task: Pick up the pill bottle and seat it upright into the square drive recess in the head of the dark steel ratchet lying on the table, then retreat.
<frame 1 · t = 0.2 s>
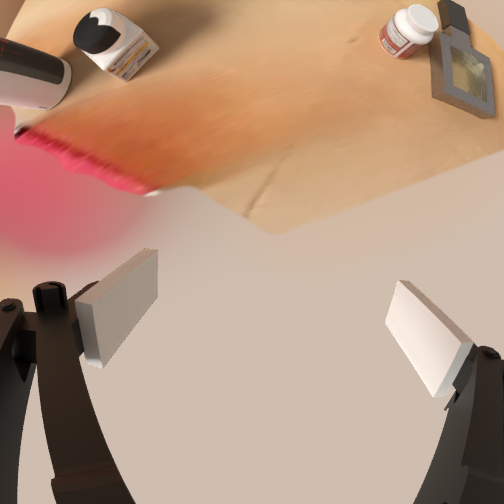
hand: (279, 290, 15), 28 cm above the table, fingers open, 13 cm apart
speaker: (52, 85, 36), on the table
container: (130, 54, 35), on the table
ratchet: (457, 78, 33), on the table
pill bottle: (393, 44, 33), on the table
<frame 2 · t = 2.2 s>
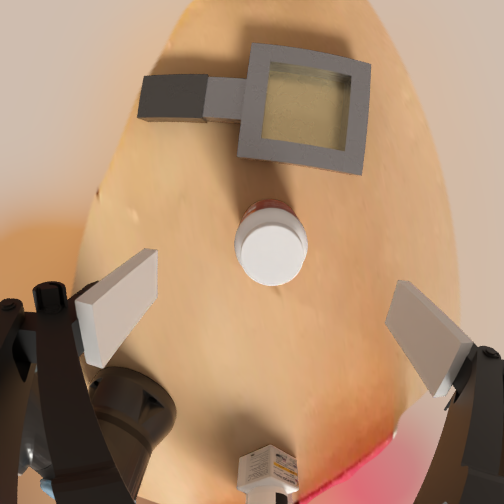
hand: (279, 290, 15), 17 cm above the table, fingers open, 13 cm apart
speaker: (269, 492, 48), on the table
container: (268, 457, 43), on the table
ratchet: (302, 112, 28), on the table
pill bottle: (269, 226, 32), on the table
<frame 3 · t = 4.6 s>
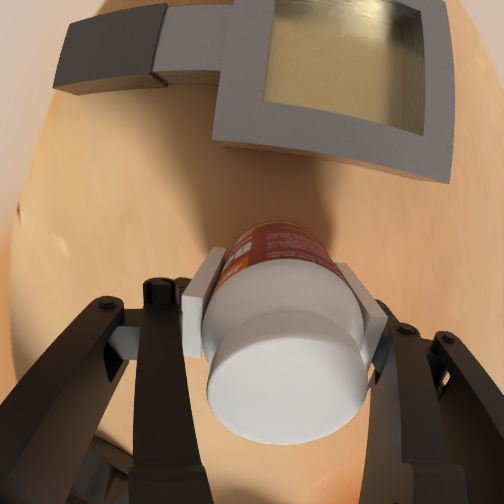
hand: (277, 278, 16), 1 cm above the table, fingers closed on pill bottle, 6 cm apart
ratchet: (336, 67, 14), on the table
pill bottle: (277, 268, 18), on the table, touching gripper
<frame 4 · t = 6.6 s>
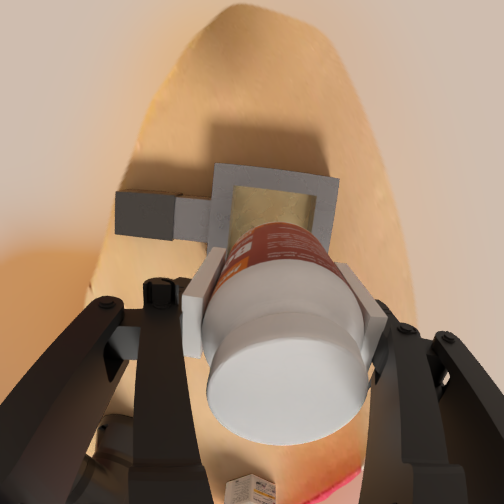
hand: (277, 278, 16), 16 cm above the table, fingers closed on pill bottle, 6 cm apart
container: (251, 482, 47), on the table
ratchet: (269, 223, 32), on the table
pill bottle: (277, 268, 18), point 15 cm above the table, touching gripper
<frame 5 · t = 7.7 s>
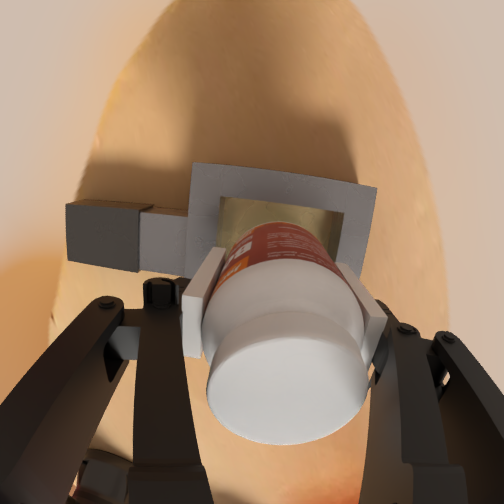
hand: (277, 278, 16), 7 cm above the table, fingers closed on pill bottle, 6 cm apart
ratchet: (273, 248, 23), on the table
pill bottle: (277, 268, 18), point 5 cm above the table, touching gripper
when the fingers open (5 cm above the table, at t = 8.7 s): pill bottle drops 2 cm, resting on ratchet.
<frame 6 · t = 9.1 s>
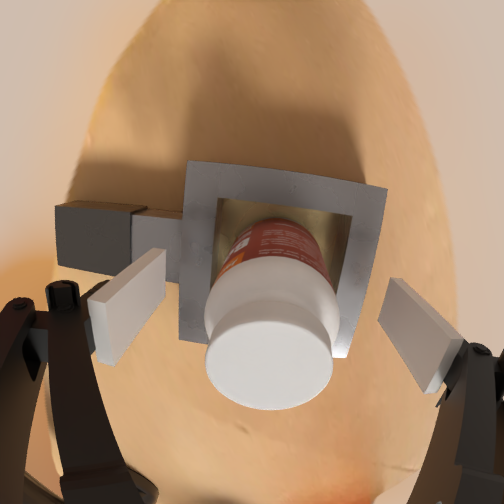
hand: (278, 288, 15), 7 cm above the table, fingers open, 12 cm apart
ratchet: (275, 252, 21), on the table
pill bottle: (275, 258, 20), point 1 cm above the table, touching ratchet
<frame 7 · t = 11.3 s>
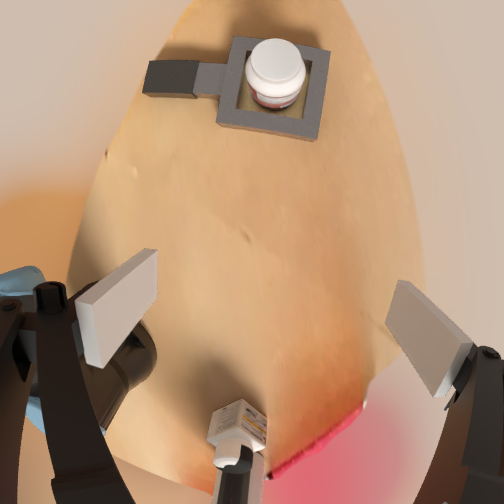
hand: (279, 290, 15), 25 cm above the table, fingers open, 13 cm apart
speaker: (242, 458, 55), on the table
container: (240, 414, 50), on the table
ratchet: (274, 91, 33), on the table
pill bottle: (274, 89, 32), point 1 cm above the table, touching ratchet
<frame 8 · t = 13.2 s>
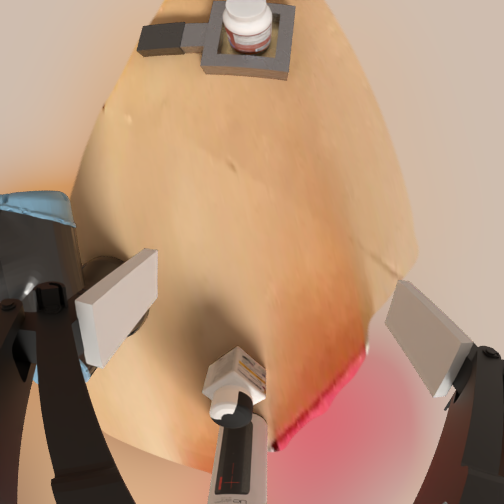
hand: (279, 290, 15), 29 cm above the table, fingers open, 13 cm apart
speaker: (244, 424, 55), on the table
container: (237, 367, 51), on the table
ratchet: (250, 43, 35), on the table
pill bottle: (250, 40, 34), point 1 cm above the table, touching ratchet
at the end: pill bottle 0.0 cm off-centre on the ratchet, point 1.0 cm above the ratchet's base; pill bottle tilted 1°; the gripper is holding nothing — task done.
